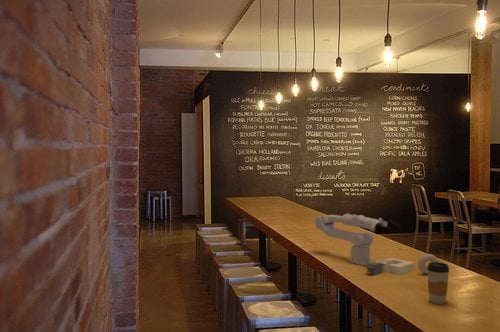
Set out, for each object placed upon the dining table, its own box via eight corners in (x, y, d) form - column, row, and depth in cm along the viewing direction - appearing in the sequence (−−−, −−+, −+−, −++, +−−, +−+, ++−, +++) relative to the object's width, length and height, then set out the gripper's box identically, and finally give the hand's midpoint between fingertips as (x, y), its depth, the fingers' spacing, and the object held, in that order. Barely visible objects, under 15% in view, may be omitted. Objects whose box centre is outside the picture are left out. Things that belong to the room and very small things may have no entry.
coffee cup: (443, 298, 211) (444, 261, 210) (452, 304, 203) (453, 267, 202) (423, 298, 211) (424, 261, 210) (431, 304, 202) (431, 267, 202)
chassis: (374, 268, 258) (374, 261, 258) (390, 264, 267) (390, 257, 267) (399, 274, 247) (399, 267, 247) (414, 269, 256) (414, 262, 256)
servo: (364, 274, 247) (364, 263, 247) (377, 270, 254) (377, 259, 254) (371, 276, 244) (371, 264, 244) (384, 272, 251) (384, 261, 251)
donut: (419, 275, 246) (419, 254, 245) (416, 273, 249) (417, 253, 249) (440, 275, 246) (440, 254, 245) (437, 273, 249) (437, 253, 249)
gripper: (363, 219, 258) (385, 224, 248) (381, 214, 267) (404, 218, 256) (363, 232, 259) (385, 238, 249) (381, 227, 268) (403, 232, 257)
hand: (394, 229), depth 253 cm, fingers open, 7 cm apart
